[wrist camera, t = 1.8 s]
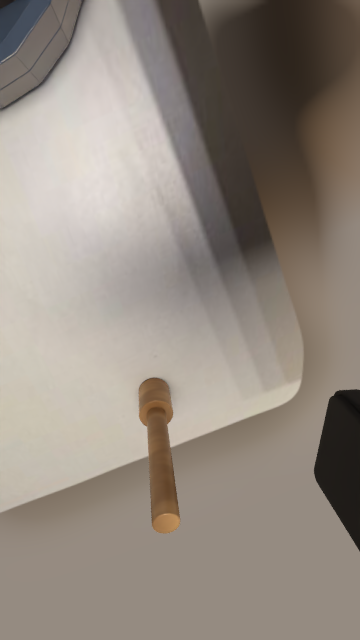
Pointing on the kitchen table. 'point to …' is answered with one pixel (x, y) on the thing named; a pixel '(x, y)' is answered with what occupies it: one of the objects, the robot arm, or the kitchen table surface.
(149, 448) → the muddler
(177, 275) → the kitchen table surface
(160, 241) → the kitchen table surface
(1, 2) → the walnut block
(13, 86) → the mixing bowl
